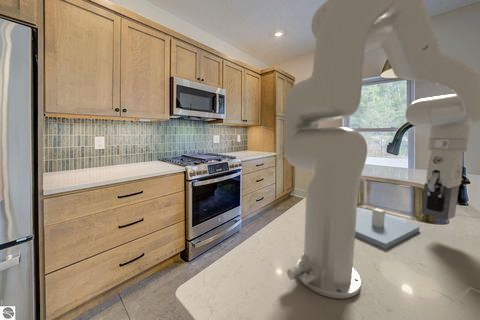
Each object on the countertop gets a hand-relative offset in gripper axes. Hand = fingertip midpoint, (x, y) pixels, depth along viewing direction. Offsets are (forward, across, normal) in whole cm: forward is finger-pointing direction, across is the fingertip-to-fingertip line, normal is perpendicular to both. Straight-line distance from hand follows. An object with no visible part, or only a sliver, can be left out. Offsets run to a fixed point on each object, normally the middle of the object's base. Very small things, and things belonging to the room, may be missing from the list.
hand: (438, 208), depth 57 cm
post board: (+9, -9, +11) cm, 17 cm away
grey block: (+2, 0, 0) cm, 2 cm away
